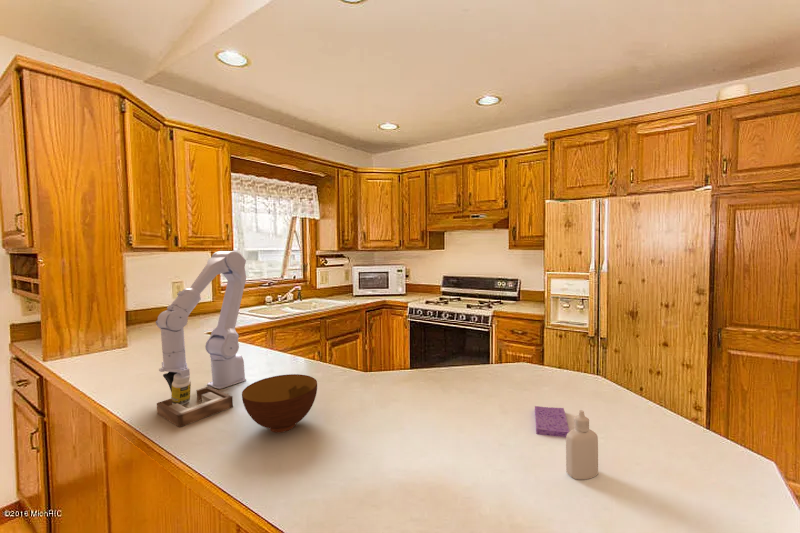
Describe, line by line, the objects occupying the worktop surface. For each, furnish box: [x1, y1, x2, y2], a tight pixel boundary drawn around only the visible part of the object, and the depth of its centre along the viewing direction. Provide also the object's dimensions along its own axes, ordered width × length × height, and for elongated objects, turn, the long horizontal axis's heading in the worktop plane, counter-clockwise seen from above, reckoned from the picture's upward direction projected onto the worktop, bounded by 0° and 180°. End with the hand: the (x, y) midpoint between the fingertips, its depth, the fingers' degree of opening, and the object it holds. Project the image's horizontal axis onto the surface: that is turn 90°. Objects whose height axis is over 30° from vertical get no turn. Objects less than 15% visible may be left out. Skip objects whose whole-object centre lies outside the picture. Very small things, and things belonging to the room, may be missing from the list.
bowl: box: [241, 373, 318, 433], centre depth 92 cm, size 18×18×10 cm
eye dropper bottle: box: [565, 409, 599, 481], centre depth 68 cm, size 4×6×12 cm
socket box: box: [156, 385, 234, 428], centre depth 103 cm, size 14×14×3 cm
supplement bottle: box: [170, 373, 192, 406], centre depth 107 cm, size 5×5×8 cm
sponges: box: [534, 405, 571, 438], centre depth 88 cm, size 7×13×2 cm, turn 162°
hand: (177, 395), depth 110 cm, fingers closed, pressing on supplement bottle
